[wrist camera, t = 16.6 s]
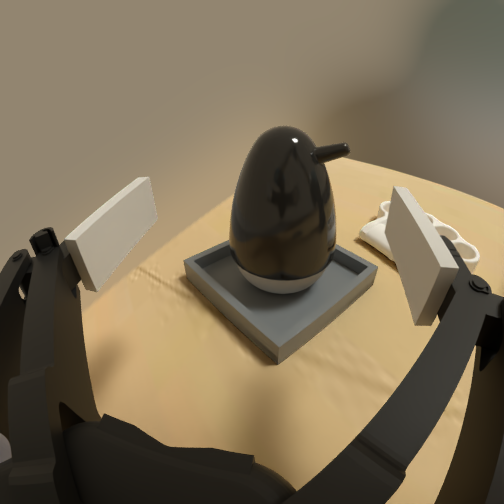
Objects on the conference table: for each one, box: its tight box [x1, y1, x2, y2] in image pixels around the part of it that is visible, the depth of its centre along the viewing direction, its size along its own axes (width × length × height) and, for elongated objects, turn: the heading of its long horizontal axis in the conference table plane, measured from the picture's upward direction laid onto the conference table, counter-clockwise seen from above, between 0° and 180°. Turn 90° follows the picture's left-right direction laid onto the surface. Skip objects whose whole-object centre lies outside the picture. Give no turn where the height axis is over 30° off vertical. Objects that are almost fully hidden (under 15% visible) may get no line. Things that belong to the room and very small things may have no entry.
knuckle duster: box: [359, 201, 480, 274], centre depth 34 cm, size 3×18×15 cm
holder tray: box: [183, 240, 378, 364], centre depth 30 cm, size 15×15×2 cm
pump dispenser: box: [229, 126, 350, 294], centre depth 25 cm, size 10×10×15 cm
